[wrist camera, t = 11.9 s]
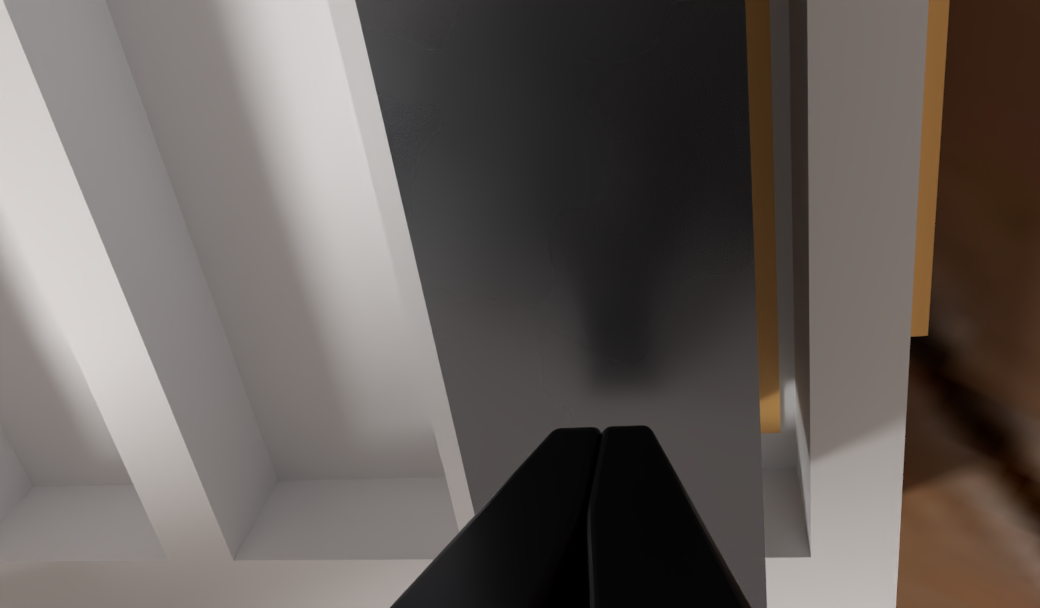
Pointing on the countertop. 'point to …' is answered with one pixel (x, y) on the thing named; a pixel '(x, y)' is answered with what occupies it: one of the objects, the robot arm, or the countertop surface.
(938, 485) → the countertop surface
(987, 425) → the countertop surface
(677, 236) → the blanking panel
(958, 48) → the countertop surface
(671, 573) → the robot arm
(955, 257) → the countertop surface
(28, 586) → the panel rack
